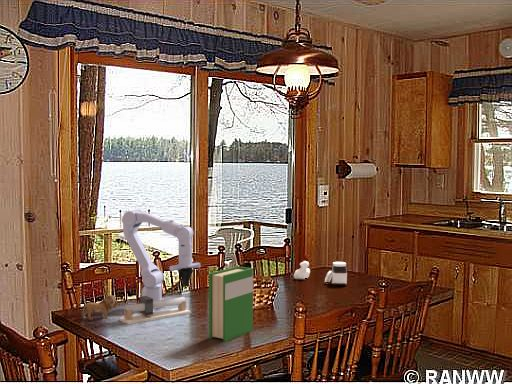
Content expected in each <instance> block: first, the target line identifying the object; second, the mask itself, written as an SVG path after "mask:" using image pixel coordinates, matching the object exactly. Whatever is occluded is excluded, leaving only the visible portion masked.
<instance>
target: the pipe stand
mask: <svg viewBox="0 0 512 384" xmlns="http://www.w3.org/2000/svg"><path fill="white" fill-rule="evenodd" d="M186 302H187V300H186V298H185V296H182V297H181V296H180V297H173V298H169V299H167V298H166V299H162V300H160V301H154V302H153V310H155V309H161V308H167V307H168V308H169V307H172V306H173V307H174V306H177V307H175V308H169V309H163V310H158V311H153V315H148V316H146V315H144V314H141V313H139V314H134V315H133V313H137V312H140V311H144V310H145V303H141V304H140V303H135V304H129V305H124V308H123V309H124V312H123V313H124V315H123V317H119V321H120V322H122V323H124V324H126V325H133V324H139V323H143V322H144V323H146V322H150V321H154V320H155V321H156V320H160V319H167V318H173V317H177V316H179V317H180V316H183V315H184V316H185V315H191V313H192V312H191V310H189V309H187V303H186Z"/></svg>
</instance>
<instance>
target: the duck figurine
mask: <svg viewBox="0 0 512 384" xmlns="http://www.w3.org/2000/svg"><path fill="white" fill-rule="evenodd" d="M299 266H300V268H299V269H296V270H295V272H293V273H294V274H293V278H294V279H295V280H306V279H305V278H307V279H308V278H309V277H310V274H311V269H310V268H308V267H310V263H309V261H306V260H303V261H302V262H299Z"/></svg>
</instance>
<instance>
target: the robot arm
mask: <svg viewBox="0 0 512 384" xmlns="http://www.w3.org/2000/svg"><path fill="white" fill-rule="evenodd" d="M121 223H122V232H123V233H122V234H123V236H124V238H125V240H126V241H127V244H128V246H129V248H130V249H131V252H132V253H133V256H134V257H135V259H136V262H137V263H138V265H139V267H140V268H141V272H140V276H141V277H142V284H143V287H142V290H141V297H142V296H148V297H150V298H153V302H154V301H160V300H163V299H162V295H163V294H162V288H163V287H162V283H163V282H164V280H165V275H164V273H163V271H161V270H160V269H159V267H158V266H157V265H156V264H155V263H153V261H152V259H151V258H150V257H151V256H150V255H149V253H148V252H147V249H146V248H145V246H144V244H143V242H142V240H141V238H140V236H139V234H138V231H139V230H138V229H140V226H141V225H142V224H143V223H148V224H150V225H152V226H156V227H158V228H161V229H162V232H163V233H165V234H168V235H171V236H173V237H175V238H176V239H177V240H178V264H174V265H169V271H170V272H174V271H177V272H178V274H179V275H180V280H181V282H182V286H184V287H187V286H188V287H189V282H190V279H191V276H192V275H193V272H194V269H195V268H198V269H199V268H201V265H202V264H201V262H193V249H192V248H193V246H192V245H193V244H192V243H193V241H192V238H193V237H194V229H193V228H192V227H190V226H189V225H185V226H184V224H182V223H181V224H180V223H178V222H175V220H174V219H167V220H163V219H161V218H159V217H157V216H155V215H153V214H150V213H149V212H147V211H143V210H142V209H135V210H134V209H133V210H127V211H125V212H124V213H123V216H122V218H121Z"/></svg>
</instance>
